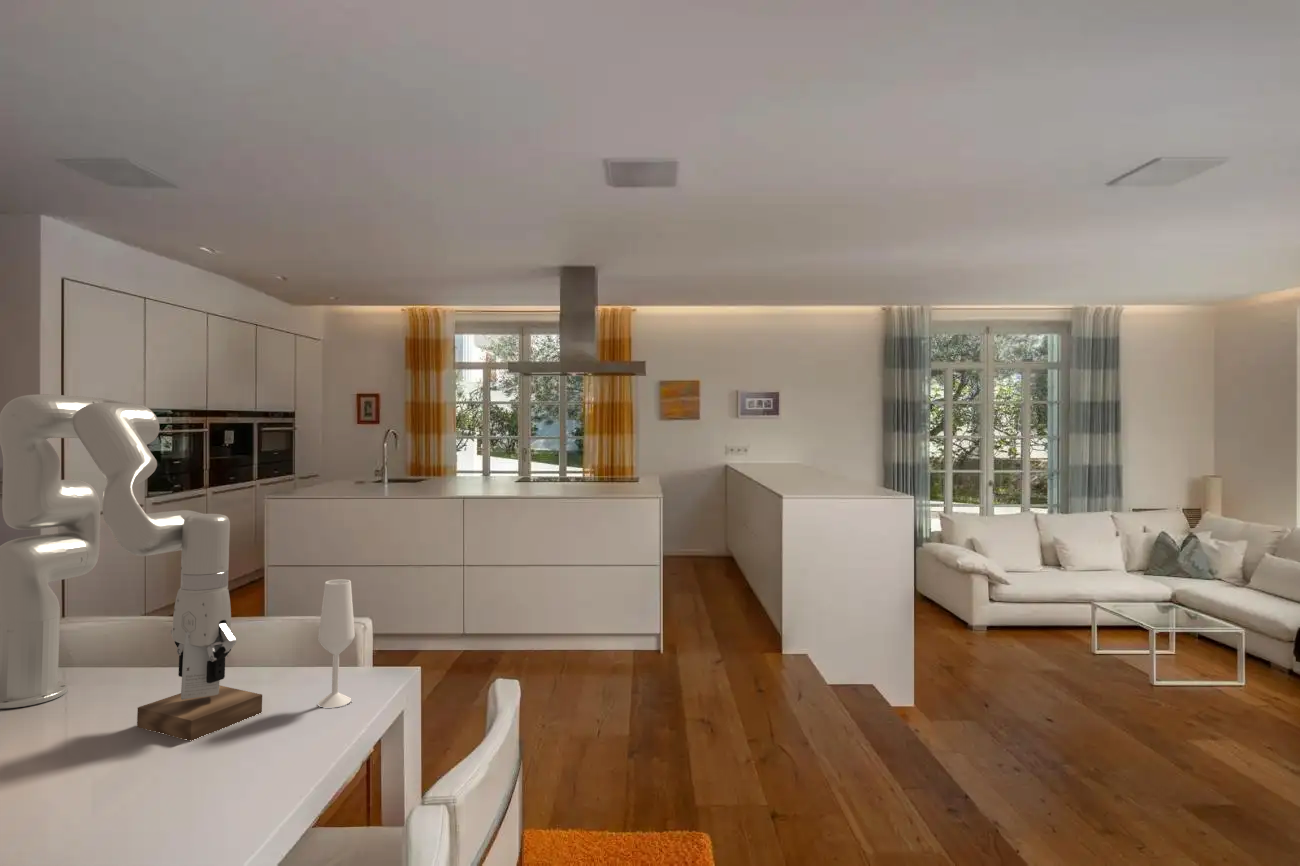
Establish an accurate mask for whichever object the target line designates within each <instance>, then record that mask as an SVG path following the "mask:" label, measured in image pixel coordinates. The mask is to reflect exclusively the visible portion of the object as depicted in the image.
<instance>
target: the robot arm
mask: <svg viewBox="0 0 1300 866" xmlns="http://www.w3.org/2000/svg"><path fill="white" fill-rule="evenodd" d="M159 433H160V421H159V419H158V417H157V415H156V414H155V413H154V411H152V410H151V409H150V408H148V407H147V406H146V405H143V404H137V403H131V402H130V403H129V402H125V401H121V400H120V401H118V400H115V399H107V398H100V397H90V396H77V395H76V396H75V395H66V394H62V395H61V394H51V393H50V394H45V393H43V394H40V393H39V394H37V393H36V394H26V395H21V396H18V397H15V398H13V399H11V400H10V401H8V402H7V403H6V404H5V405H4V407H3V408H2V409H1V412H0V450H1V454H2V461H3V462H2V463H3V466H2V497H1V499H2V502H1V503H2V505H1V507H2V510H1V511H2V516H3V520H4V522H5V524H6V525H7V526H8V527H10V528H12V529H14V530H19V531H20V530H22V531H25V530H26V531H28V530H41V529H50V528H57V533H49V534H47V533H46V534H38V535H31V536H24V537H19V538H15V539H12V540H8V541H6V542H4V543H3V544H1V545H0V709H1V710H2V709H3V710H4V709H5V710H6V709H16V708H23V707H29V706H34V705H39V704H43V703H46V702H50V701H53V700H56V699H57V698H59V697H61V696H63V695H65V694H66V693H67V692H68V687H69V686H68V684H67V683H66V682H63V681H59V655H60V627H61V626H60V623H61V622H60V621H61V620H60V619H61V608H60V607H61V605H60V601H59V598H58V597H57V595H56V593H55V592H54V591H53V589H52V588H51V587H50V585H49V583H52V582H56V581H57V582H58V581H62V580H68V579H72V578H77V577H81V576H84V575H87V574H88V573H90V572H91V571H92V570H94V568H95V567H96V565H97V563H98V561H99V556H100V549H101V548H100V547H101V546H100V542H101V501H100V497H99V494H98V492H97V491H96V489H95V488H94V487H93V485H92V484H90V483H89V482H87V481H84V480H81V479H61V476H60V473H61V472H60V469H61V462H60V461H61V460H60V457H59V455H58V453H57V451H56V449H55V448H54V446H53V445H52V444H51V443H50V442H49V441H48V439H53V438H54V439H55V438H56V439H79V440H80V442H81V443H82V445H83V446H84V448H85V449H86V451H87V453H88V454H89V456H90V457H91V458H92V460H93V463H95V465H96V466H97V468H98V469H99V471H100V473H101V474H102V475H103V477H104V479H105V480H106V486H105V488H104V489H103V490H104V491H103V495H102V516H103V518H104V519H103V520H104V522H105V524H106V525H107V528H108V529H109V530H110V532H111V534H112V536H114V538H115V540H116V541H117V543H119V544H120V545H119V546H121V547H122V548H123V549H124V550H125V551H126V552H128V553H129V554H131V555H134V556H138V557H147V556H153V555H160V554H165V553H171V552H172V553H173V552H178V551H181V557H180V558H181V560H180V562H181V563H180V588H178V590H177V594H176V597H175V603H174V609H173V616H172V626H171V627H172V628H171V630H170V634H171V639H173V641H174V644H175V646H176V647H177V648H176V649H177V650H176V654H177V655H179V656H178V677H181V678H182V667H183V651H184V643H185V632H188V633H190V640H189V644H190V645H192V646H197V647H207V651H208V654H209V658H210V661H207V677H206V681H207V683H212V682H216V681H219V680H220V681H221V680H224V679H225V677H226V674H225V673H226V659H227V658H228V657H229V653H230V652H231V651H232V648H233V647H234V646H235V644H236V643H237V639H236V637H235V635H233V633H232V632H231V630H232V612H231V611H232V608H231V598H230V590H229V568H230V567H229V563H230V533H231V522H230V518H229V517H228V516H227V515H225V514H221V513H201V512H198V511H194V510H190V509H189V510H188V509H180V510H172V511H169V510H167V511H160V512H158V511H157V512H150V513H147V512H146V511H144V509H143V508H142V506H141V505H140V503H139V502H138V500H137V498H136V497H135V493H134V487H135V486H137V485H139V484H141V483H143V482H144V481H145V480H147V479H148V478H150V476H152V474H153V473H155V471H156V469H157V467H158V461H157V459H156V458H155V456H154V455H153V453H152V452H151V450H150V449H149V447H148V446H147V445H150V444H151V443H152V442H154V441H155V440H156V439H157V437H158V436H159ZM218 638H219V641H218V642H215V640H216V639H218ZM215 646H218V647H219V649H218V650H217V651H216V652H215V649H214V647H215Z"/></svg>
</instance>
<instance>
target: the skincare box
mask: <svg viewBox="0 0 1300 866" xmlns="http://www.w3.org/2000/svg"><path fill="white" fill-rule="evenodd" d="M189 640H190V633H188V632H185V643H184V651H183V667H182V677H181V687H180V689H181V691H180V693H181V699H182V700H183V699H189V698H198V697H206V696H213V695H218V694H219V685H220V681H221V680H219V681H216V682H212V683H207V681H206V677H207V661H210V658H209V654H208V651H207V647H197V646H192V645H190V644H189ZM218 641H219V638H218V639H216V640H215V642H218ZM214 649H215V652H216V651H217V650H218V649H219V647H218V646H215V647H214Z"/></svg>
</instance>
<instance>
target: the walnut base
mask: <svg viewBox="0 0 1300 866" xmlns="http://www.w3.org/2000/svg"><path fill="white" fill-rule="evenodd" d="M261 712H263V694H262V693H257V692H253V691H248V690H243V689H238V688H234V687H229V686H224V685H220V684H219V694H218V695H213V696H206V697H198V698H189V699H183V700H182V699H181V692H180V693H177V694H175V695H171V696H168V697H165V698H162V699H158V700H156V701H152V702H150V703H147V704H143V705H141V706H138V707H137V714H136V716H137V717H136V728H137V727H139V729H141V728H143V729H142V730H145V729H147V730H146V731H149V730H151V731H150V732H153V731H156V732H155V733H157V732H160V733H164V734H167V735H166V736H168V735H170V736H169V737H172V736H174V737H173V738H176V737H178V738H177V739H180V738H182V739H181V740H184V739H187V740H191V741H190V742H193V741H195V740H194V739H196V740H198V739H200V738H199V737H201V736H203V737H205V736H204V735H206V734H208V735H210V734H209V733H211V734H213V733H215V732H214V731H216V732H218V731H221V730H223V729H226V728H228V727H231V726H233V725H236V724H238V723H241V722H243V721H245V720H244V719H246V720H248V719H250V718H249V717H251V718H253V717H256V716H257V715H256V714H258V715H260V714H259V713H261ZM261 714H262V713H261ZM255 715H256V716H255ZM252 716H253V717H252ZM247 718H248V719H247ZM242 720H243V721H242ZM240 721H241V722H240ZM237 722H238V723H237ZM235 723H236V724H235ZM232 724H233V725H232ZM230 725H231V726H230ZM225 727H226V728H225ZM222 728H223V729H222ZM220 729H221V730H220ZM217 730H218V731H217ZM212 732H213V733H212ZM160 733H159V734H160ZM164 734H163V735H164ZM206 736H207V735H206ZM197 738H198V739H197ZM201 738H202V737H201ZM187 740H186V741H187ZM192 740H193V741H192Z"/></svg>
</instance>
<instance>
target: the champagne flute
mask: <svg viewBox="0 0 1300 866" xmlns="http://www.w3.org/2000/svg"><path fill="white" fill-rule="evenodd" d="M352 591H353V590H352V581H351V580H350V579H344V578H343V579H341V578H340V579H330V580H327V581H325V583H324V588H323V596H322V597H323V598H322V603H321V611H320V619H319V620H320V622H319V629H318V636H317V640H318V642H319V643H320V645H321V646H322V648H323V649H324V650H326V651H327V652H328V653H330V654H331V655H332V673H331V677H332V678H331V693H330V694H328V695H326V696H325V697H323V698H321V699H320V700H318V702H319V703H318V704H319V705H320V706H322V707H336V706H342V705H345V704H347V703H349V702H350V701H351V697H349V696H347V695H345V694H343V693H342V692H339V683H340V682H339V680H340V678H339V677H340V676H339V674H340V673H339V672H340V654H341V653H342V652H344V651H345V650H346V649H347V648H348V647H349V646H350V645H351V644H352V642H353V641H354V639H355V637H356V636H355V621H354V620H355V619H354V607H353V606H354V605H353V592H352Z"/></svg>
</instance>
